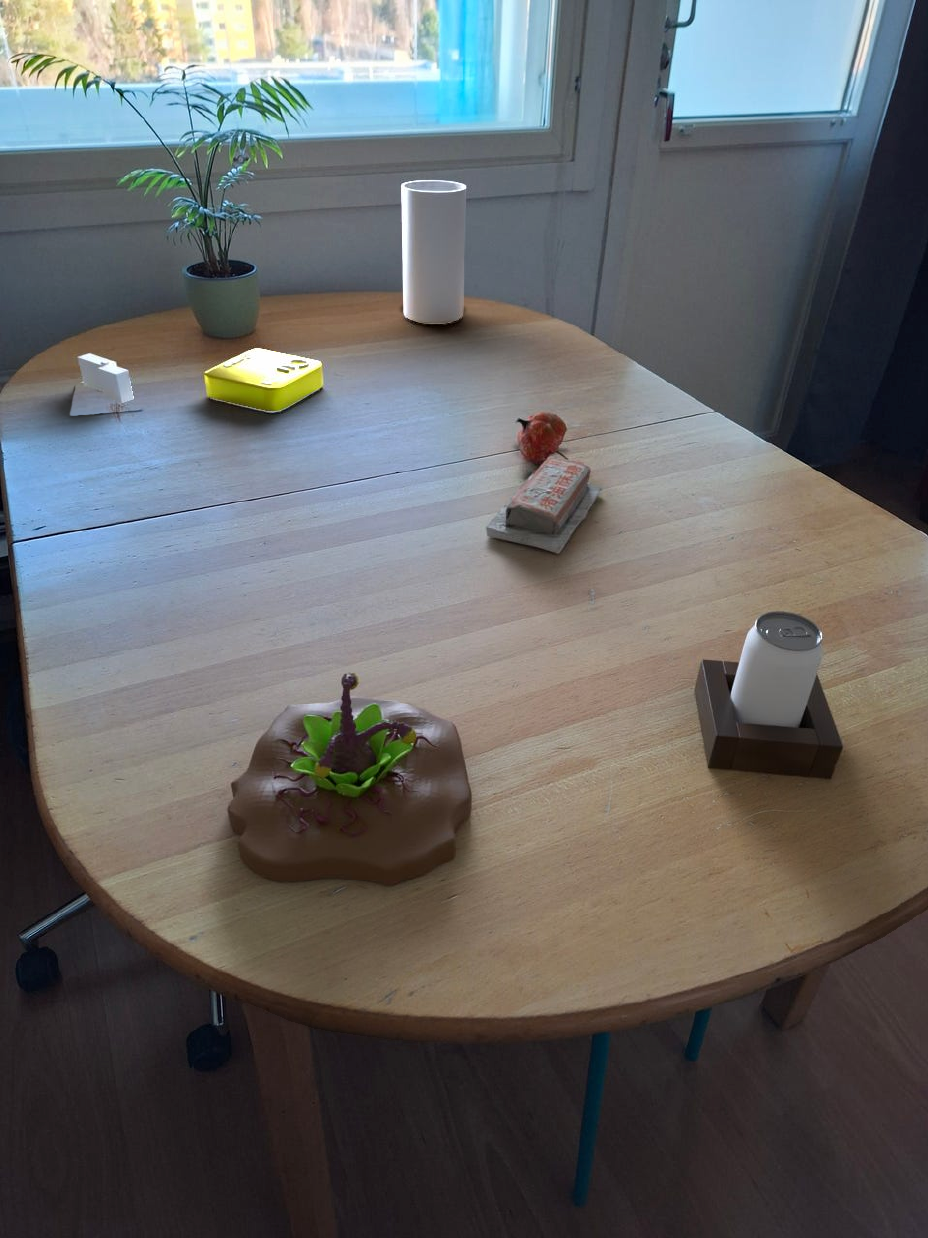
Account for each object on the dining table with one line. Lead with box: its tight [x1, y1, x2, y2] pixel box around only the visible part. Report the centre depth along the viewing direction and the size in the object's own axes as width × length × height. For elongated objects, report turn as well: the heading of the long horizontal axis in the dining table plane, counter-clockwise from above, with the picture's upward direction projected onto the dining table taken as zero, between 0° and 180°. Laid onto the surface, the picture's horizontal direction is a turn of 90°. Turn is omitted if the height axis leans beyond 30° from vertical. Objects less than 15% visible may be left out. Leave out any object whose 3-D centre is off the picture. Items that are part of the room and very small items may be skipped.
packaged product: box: [485, 456, 603, 555], centre depth 114 cm, size 18×5×10 cm
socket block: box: [694, 658, 844, 780], centre depth 81 cm, size 11×11×4 cm
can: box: [730, 610, 824, 728], centre depth 78 cm, size 6×6×12 cm
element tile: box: [203, 348, 325, 411], centre depth 146 cm, size 15×15×5 cm
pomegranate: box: [515, 411, 570, 465], centre depth 127 cm, size 7×7×10 cm
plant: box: [227, 672, 473, 886], centre depth 71 cm, size 20×20×11 cm
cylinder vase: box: [401, 179, 467, 323], centre depth 176 cm, size 12×12×25 cm
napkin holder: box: [77, 352, 134, 403], centre depth 142 cm, size 15×11×6 cm
